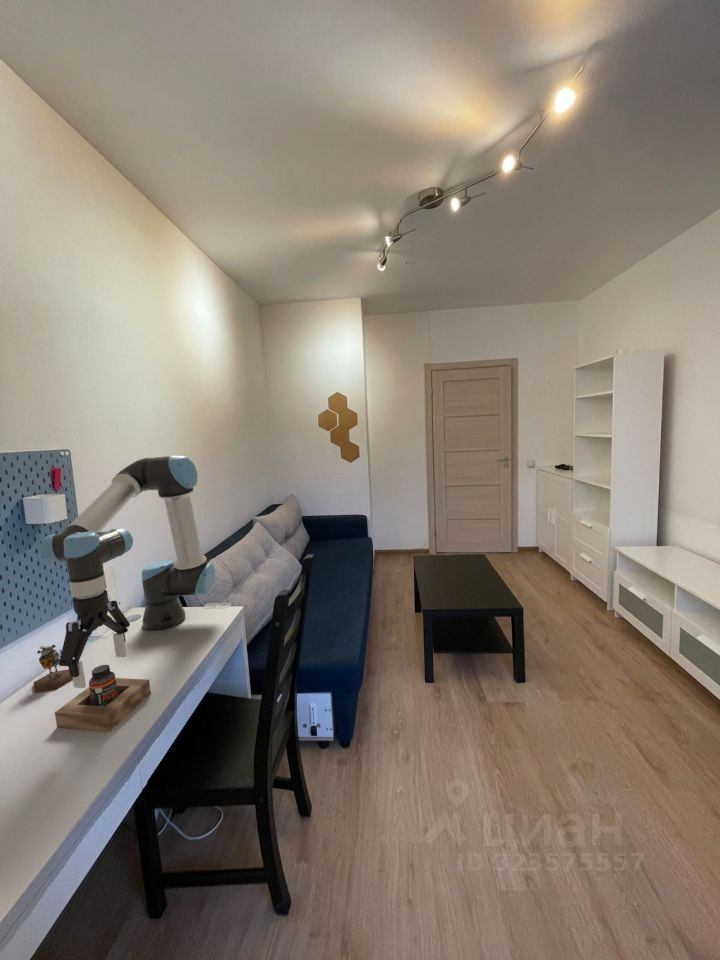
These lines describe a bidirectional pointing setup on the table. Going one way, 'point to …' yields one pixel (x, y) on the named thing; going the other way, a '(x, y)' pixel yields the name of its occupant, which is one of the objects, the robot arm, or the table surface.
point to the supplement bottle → (102, 686)
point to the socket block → (103, 718)
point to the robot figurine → (53, 678)
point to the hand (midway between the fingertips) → (102, 670)
